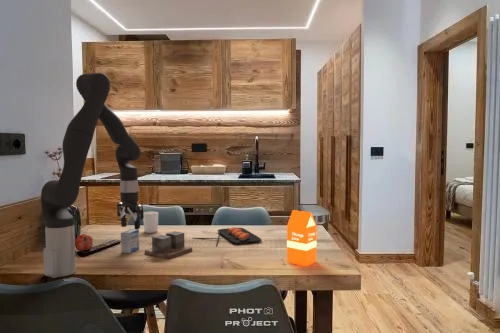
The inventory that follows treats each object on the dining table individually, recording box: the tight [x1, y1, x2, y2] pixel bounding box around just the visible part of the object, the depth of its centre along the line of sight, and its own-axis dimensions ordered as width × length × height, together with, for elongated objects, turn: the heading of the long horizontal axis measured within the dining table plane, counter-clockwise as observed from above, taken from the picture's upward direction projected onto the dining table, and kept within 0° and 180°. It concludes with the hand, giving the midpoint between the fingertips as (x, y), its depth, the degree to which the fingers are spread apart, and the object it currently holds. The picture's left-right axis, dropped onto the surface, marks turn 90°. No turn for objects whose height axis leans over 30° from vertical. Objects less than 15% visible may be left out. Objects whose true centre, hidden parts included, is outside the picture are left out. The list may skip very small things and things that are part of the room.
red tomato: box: [75, 233, 94, 252], centre depth 166 cm, size 7×7×10 cm
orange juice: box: [286, 209, 318, 267], centre depth 150 cm, size 8×9×20 cm
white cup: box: [142, 210, 159, 234], centre depth 202 cm, size 8×8×10 cm
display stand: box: [144, 230, 193, 260], centre depth 163 cm, size 14×14×8 cm
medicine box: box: [120, 228, 140, 254], centre depth 166 cm, size 8×4×9 cm, turn 168°
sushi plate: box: [193, 226, 262, 247], centre depth 187 cm, size 29×30×4 cm
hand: (130, 227), depth 166 cm, fingers open, 8 cm apart
